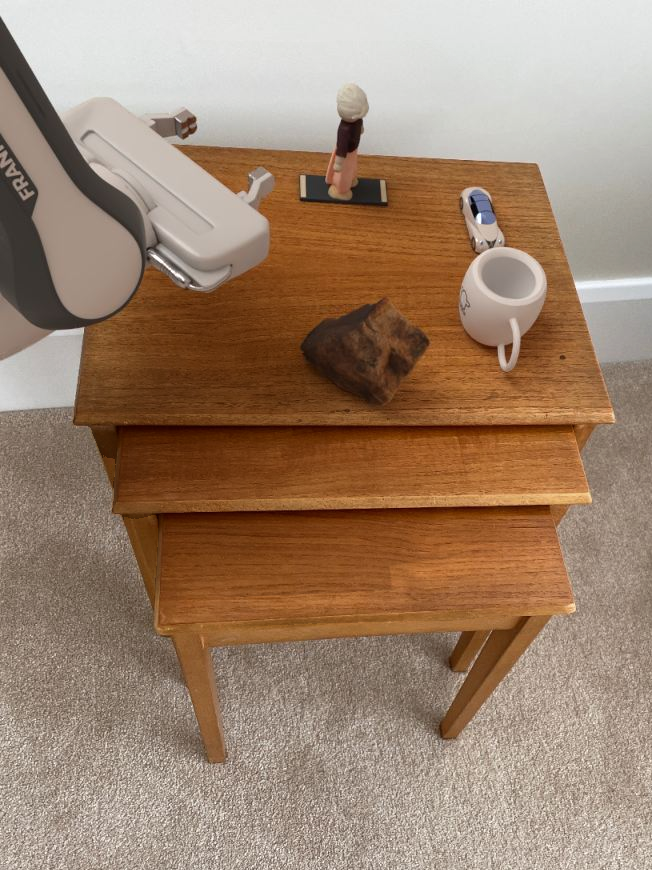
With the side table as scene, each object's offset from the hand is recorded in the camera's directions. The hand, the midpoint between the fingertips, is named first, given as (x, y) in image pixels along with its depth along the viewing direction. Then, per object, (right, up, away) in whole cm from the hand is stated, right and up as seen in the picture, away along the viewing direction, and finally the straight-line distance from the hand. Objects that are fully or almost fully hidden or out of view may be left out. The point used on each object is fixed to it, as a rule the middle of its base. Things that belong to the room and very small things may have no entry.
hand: (229, 147), depth 69 cm
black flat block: (+9, +5, +21) cm, 23 cm away
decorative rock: (+11, -18, +10) cm, 24 cm away
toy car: (+25, 0, +21) cm, 33 cm away
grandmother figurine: (+9, +5, +21) cm, 23 cm away
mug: (+25, -14, +15) cm, 32 cm away
